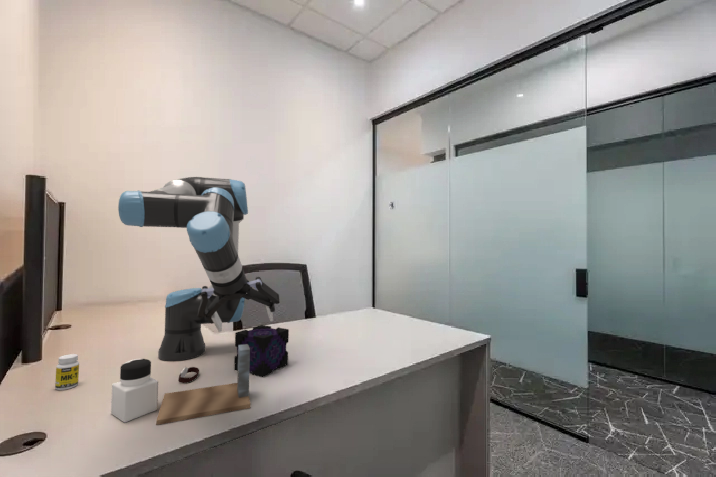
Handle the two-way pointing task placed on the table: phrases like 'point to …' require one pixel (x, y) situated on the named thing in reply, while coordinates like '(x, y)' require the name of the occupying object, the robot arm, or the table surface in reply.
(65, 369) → the supplement bottle
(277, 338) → the energy cube
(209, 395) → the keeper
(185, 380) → the watch
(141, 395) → the medicine bottle
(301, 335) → the table surface
